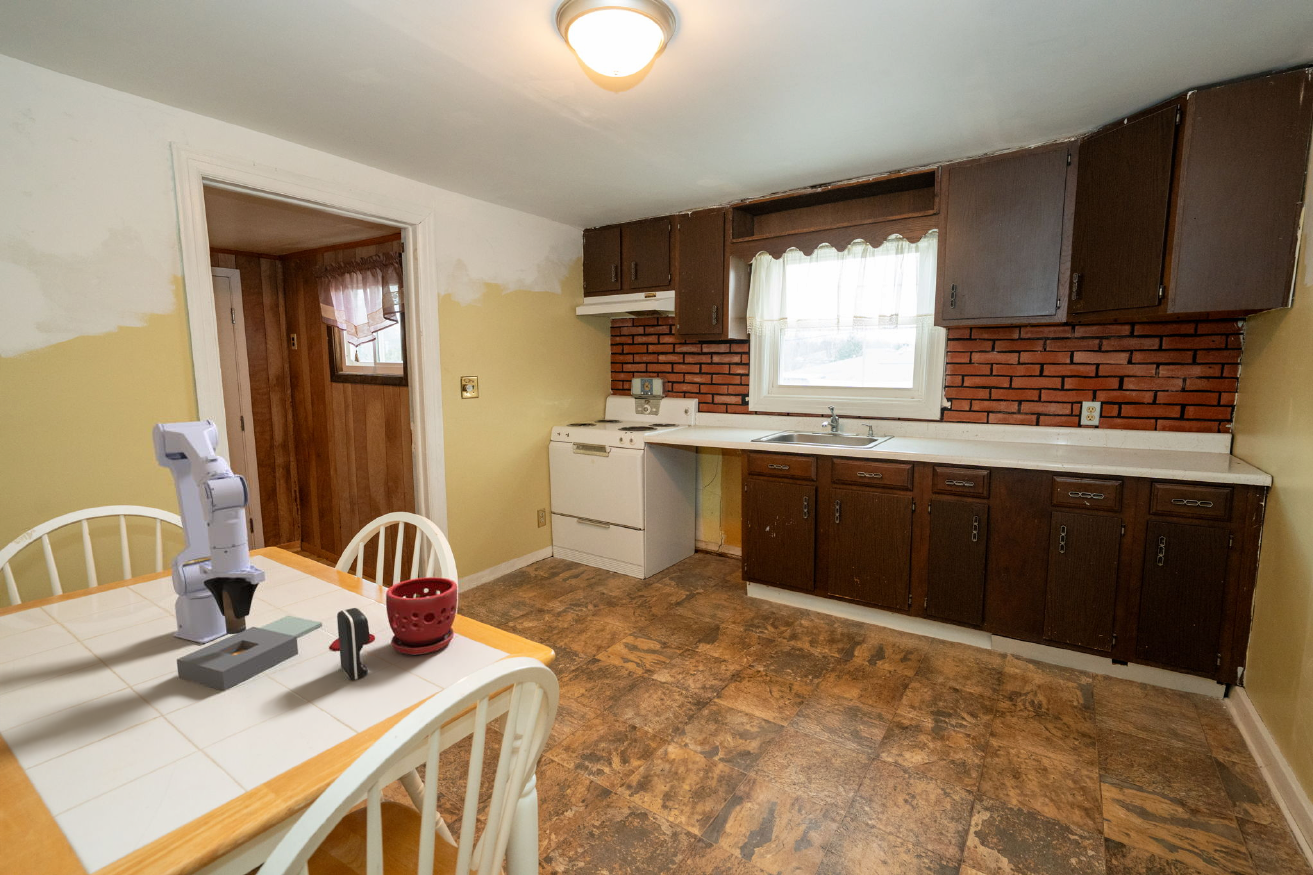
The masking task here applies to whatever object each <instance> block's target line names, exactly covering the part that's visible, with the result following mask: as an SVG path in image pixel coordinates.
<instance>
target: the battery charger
mask: <svg viewBox="0 0 1313 875" xmlns="http://www.w3.org/2000/svg"><path fill="white" fill-rule="evenodd" d="M336 617H337V619H336V622H337V623H336V624H337V633H338V638H339V647H340V651H339V656H340V667H341V669H342V670H343V672H344V673H345V675H347V677H348V678H349V679H350V681H354V680H358V679H360V678H363V677H365V676H366V675H367V674H369V673H368V672H369V671H368V668H367V666H365V665H364V664H363V662H362V661H361V651H362V649H363V648H364V645H363V644H366V643H368V642H369V640H370V635H369V633H370V629H369V628H370V627H369V622H368V621H369V620H368V618H367V617H366V615H365V614H364V613H363V612H362V611H361V610H360V609H359V608H357V607H352V608H348V609H347V608H346V609H342V610H339V611H338V612H337V616H336Z"/></svg>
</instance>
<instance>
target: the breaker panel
mask: <svg viewBox="0 0 1313 875" xmlns="http://www.w3.org/2000/svg"><path fill="white" fill-rule="evenodd" d="M242 649H244V650H246V651H244V652H241V653H239V654H237V655H232V654H234V653H236V652H238V651H240V650H242ZM298 654H299V647H298V638H297V636H292V635H288V634H283V633H279V632H275V631H270V630H266V629H261V627H256V626H251V627H249V628H246V630H245V631H243V632H240V633H237V634H231V636H228V637H226V638H223V639H221V640H218V641H216V642H213V643H212V644H209V645H207V646H204V647H202V648H200V649H198V650H195V651H193V652H191V653H188V654H186V655H184V656H181V657H179V658H177V659H176V666H177V676H178V678H179V679H182V680H186V681H188V682H192V683H196V684H199V685H203V686H206V687H210V688H214V689H217V690H220V691H224V692H226V691H227V690H229V689H231V688H233V687H235V686H237V685H239V684H241V683H243V682H245V681H247V680H249V679H251V678H253V677H255V676H256V675H259V674H261V673H263V672H264V671H267V670H269V669H271V668H272V667H274V666H276V665H279V664H281V663H284V661H285V662H286V660H289V659H291V658H292V657H294V656H296V655H298Z"/></svg>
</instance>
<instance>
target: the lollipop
mask: <svg viewBox="0 0 1313 875" xmlns="http://www.w3.org/2000/svg"><path fill="white" fill-rule="evenodd" d="M369 635H370V640H369V642H368V643H366V644H363V646H367V645H369V644H372V643H373V642H375V640H376V637H375V635H374V634H373V633H370V632H369ZM329 649H330V650H331V651H332V652H333V651H334V652H340V647H339V637H338V638H336V639H335V640H333V641H332V643H331V644H330V645H329Z"/></svg>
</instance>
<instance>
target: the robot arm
mask: <svg viewBox="0 0 1313 875" xmlns="http://www.w3.org/2000/svg"><path fill="white" fill-rule="evenodd" d="M151 434H152V435H151V436H152V441H153V442H152V443H153V447H154V448H153V449H154V454H155V459H156V461H157V464H158V466H159V467H163V468H165V469H166V468H167V469H169V471H170V473H171V476H172V478H173V481H174V487H175V491H176V492H175V494H176V500H177V504H178V509H179V515H180V520H181V527H182V532H183V533H182V534H183V537H184V543H185V547H184V548H183V549H182V550H181V551H180V552H179V553H177V554H176V555H175V556H174V557H172V560H171V564H170V565H171V580H172V586H173V589H174V592H175V594H176V595H177V598H176V600H175V605H174V607H175V608H174V609H175V616H176V617H175V618H176V619H175V620H176V627H177V631H175V632H174V633H172V635H173V637H176V638H181V639H184V640H187V641H188V640H189V641H191V642H196V643H200V644H206V643H208V642H210V641H212V640H215V639H218V638H219V637H222V636H225V635H228V634H227V633H226V624H225V614H224V604H223V594H222V590H223V589H225V590H226V591H227V593H228V595H229V597H230V600H231V603H232V607H233V612H234V616H235V618H236V619H240V618H243V617H245V618H246V617H247V616H250V611H251V608H252V604H253V603H252V601H253V599H254V595H255V592H256V590H257V588H258V586H259V585H260V583H262V582H265V581H266V575H265V570H263V569H260V568H259V567H257V566H255V565H254V564H252V562H250V561H251V560H250V550H249V539H248V529H247V528H248V526H247V520H246V519H247V518H246V509H245V508H246V507H248V506H249V501H250V495H249V487H248V484H247V481H246V479H245V477H244V476H243V475H239V474H234V472H233V470H232V469H231V467H230V465H229V464H228V462H227V461H226V460H225V459H224V457H223V456H220V455H217V454H216V451H217V448H218V446H219V431H218V427H217V425H216V423H215V422H214V421H213V420H212V419H206V420H200V421H186V422H185V421H184V422H182V421H181V422H168V423H161V422H158V423H155V424H154V426H153V427H152V432H151ZM206 558H208V559H206ZM209 558H210V559H209ZM197 560H199V561H197ZM191 561H195V562H191ZM187 562H190V563H187Z"/></svg>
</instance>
